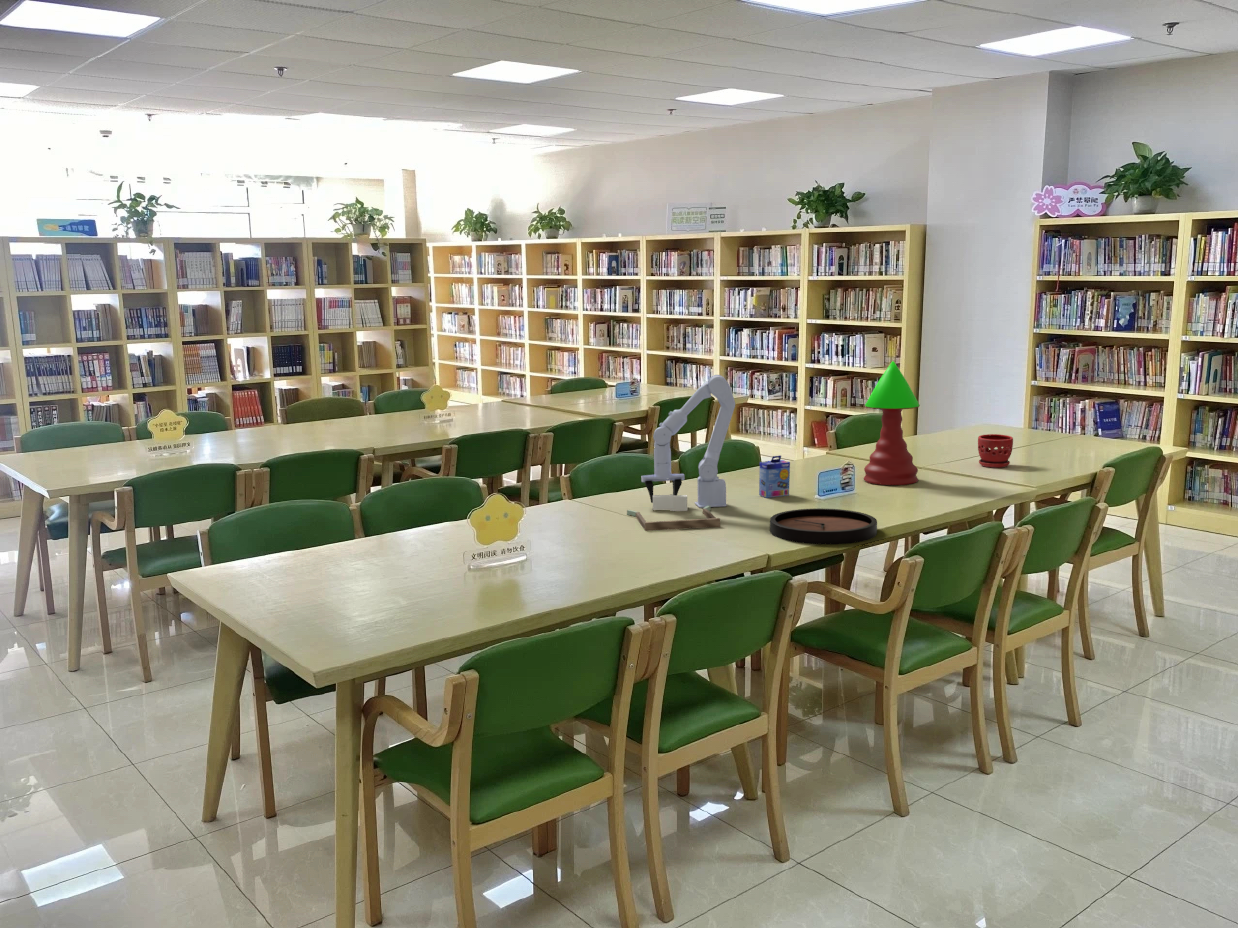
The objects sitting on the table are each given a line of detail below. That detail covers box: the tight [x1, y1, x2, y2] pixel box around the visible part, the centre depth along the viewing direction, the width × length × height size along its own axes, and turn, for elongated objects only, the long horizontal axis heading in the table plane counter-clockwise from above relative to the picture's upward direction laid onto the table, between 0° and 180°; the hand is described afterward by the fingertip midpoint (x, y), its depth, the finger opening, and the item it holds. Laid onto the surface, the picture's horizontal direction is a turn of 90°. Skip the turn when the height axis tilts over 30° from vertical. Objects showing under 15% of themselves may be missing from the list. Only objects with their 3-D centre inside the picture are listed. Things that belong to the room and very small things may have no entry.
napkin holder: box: [652, 493, 688, 512], centre depth 336 cm, size 15×11×6 cm
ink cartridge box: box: [758, 455, 791, 499], centre depth 354 cm, size 10×6×14 cm, turn 115°
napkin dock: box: [626, 506, 721, 532], centre depth 321 cm, size 28×24×2 cm
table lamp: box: [863, 360, 920, 486], centre depth 373 cm, size 20×20×45 cm
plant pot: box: [977, 433, 1014, 469], centre depth 400 cm, size 13×13×12 cm
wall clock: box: [769, 507, 878, 546], centre depth 301 cm, size 31×4×31 cm
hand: (663, 501), depth 343 cm, fingers open, 7 cm apart
